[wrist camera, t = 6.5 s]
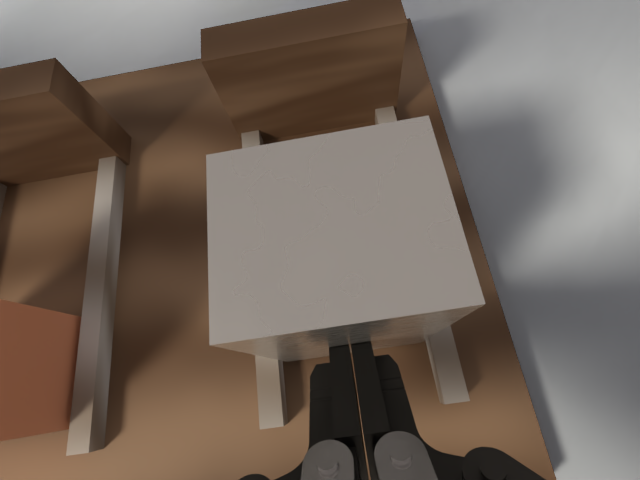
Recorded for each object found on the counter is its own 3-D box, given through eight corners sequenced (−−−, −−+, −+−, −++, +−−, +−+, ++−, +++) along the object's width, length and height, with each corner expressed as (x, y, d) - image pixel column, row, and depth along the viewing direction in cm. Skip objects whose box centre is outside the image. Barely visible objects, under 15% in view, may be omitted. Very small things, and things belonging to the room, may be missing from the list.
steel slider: (420, 342, 16) (485, 304, 8) (287, 362, 16) (209, 345, 8) (397, 238, 18) (428, 115, 9) (277, 257, 18) (205, 155, 10)
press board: (546, 481, 15) (690, 562, 8) (-126, 563, 16) (-444, 685, 10) (408, 32, 24) (425, -94, 18) (-10, 111, 26) (-134, 22, 19)
